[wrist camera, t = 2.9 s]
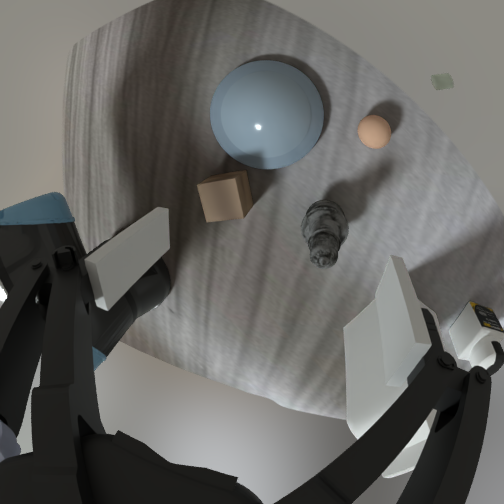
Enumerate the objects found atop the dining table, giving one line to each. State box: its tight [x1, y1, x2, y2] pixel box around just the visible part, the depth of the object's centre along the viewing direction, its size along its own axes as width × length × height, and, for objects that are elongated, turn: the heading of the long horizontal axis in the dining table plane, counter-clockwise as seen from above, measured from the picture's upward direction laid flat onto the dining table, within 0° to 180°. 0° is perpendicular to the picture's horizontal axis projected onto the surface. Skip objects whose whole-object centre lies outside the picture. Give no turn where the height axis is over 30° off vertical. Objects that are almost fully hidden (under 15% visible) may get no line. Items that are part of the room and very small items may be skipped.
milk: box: [343, 298, 446, 478], centre depth 30 cm, size 12×12×26 cm
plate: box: [210, 60, 324, 169], centre depth 31 cm, size 14×14×1 cm
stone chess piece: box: [301, 200, 349, 269], centre depth 31 cm, size 6×6×12 cm
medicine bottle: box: [449, 301, 504, 376], centre depth 32 cm, size 7×7×12 cm
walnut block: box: [197, 170, 253, 222], centre depth 36 cm, size 5×5×5 cm
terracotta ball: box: [358, 115, 391, 149], centre depth 27 cm, size 4×4×4 cm
